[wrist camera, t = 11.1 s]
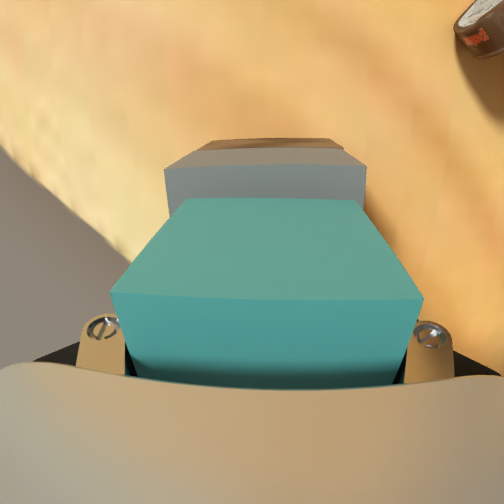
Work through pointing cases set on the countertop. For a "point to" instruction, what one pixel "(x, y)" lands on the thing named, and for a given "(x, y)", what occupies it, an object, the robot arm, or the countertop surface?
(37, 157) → the countertop surface
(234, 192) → the block
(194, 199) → the teal cube
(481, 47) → the tin
